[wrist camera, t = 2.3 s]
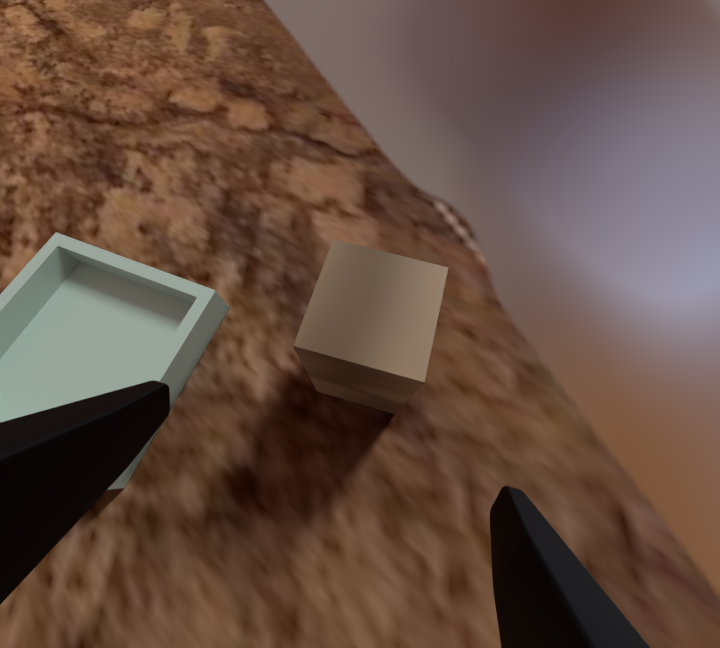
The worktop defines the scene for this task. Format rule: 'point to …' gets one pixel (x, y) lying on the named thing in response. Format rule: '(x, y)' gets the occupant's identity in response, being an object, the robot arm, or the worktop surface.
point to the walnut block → (371, 325)
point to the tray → (97, 329)
